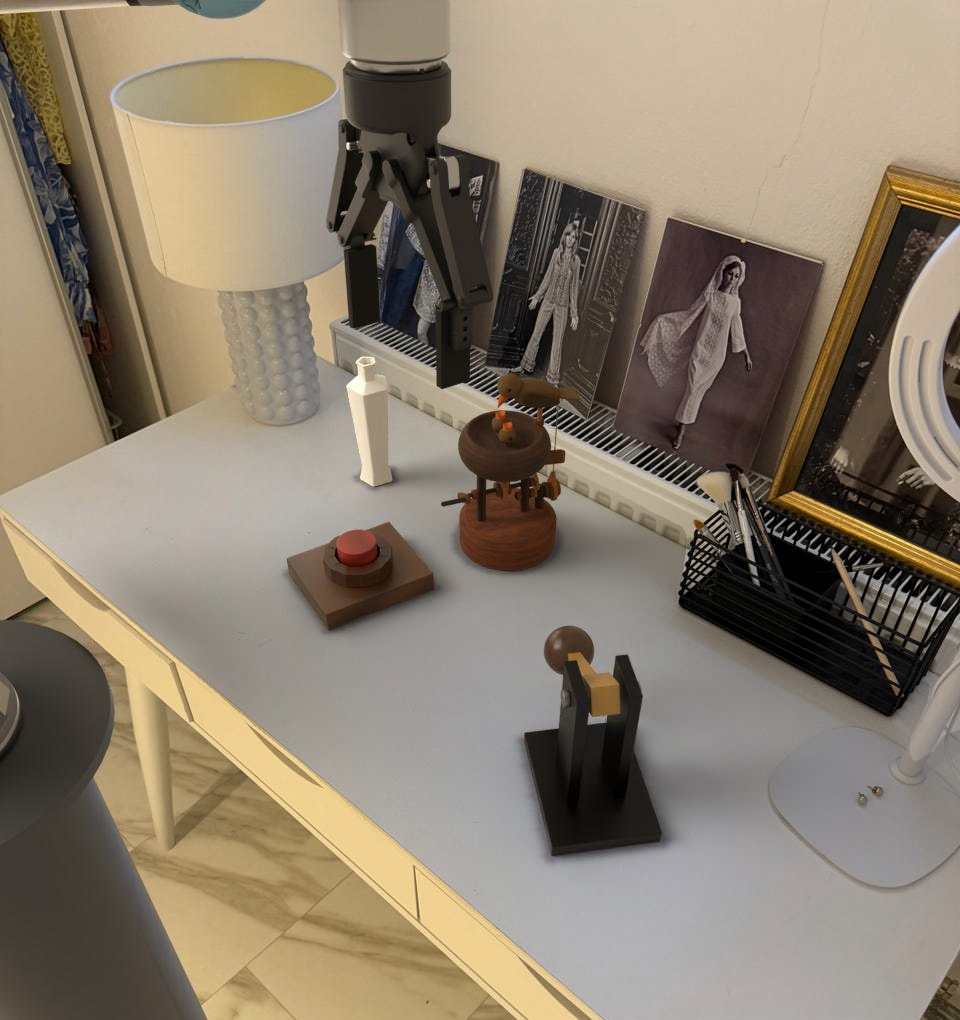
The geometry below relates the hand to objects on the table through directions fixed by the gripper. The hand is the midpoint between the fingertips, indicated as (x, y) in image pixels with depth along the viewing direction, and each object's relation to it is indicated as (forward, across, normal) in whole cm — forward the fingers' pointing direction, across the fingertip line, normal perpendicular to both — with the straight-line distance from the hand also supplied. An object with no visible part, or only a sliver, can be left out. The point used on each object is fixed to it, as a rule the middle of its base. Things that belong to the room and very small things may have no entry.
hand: (406, 352), depth 80 cm
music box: (+26, +3, -13) cm, 30 cm away
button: (+23, +6, +3) cm, 24 cm away
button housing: (+27, +6, +3) cm, 28 cm away
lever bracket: (+28, -28, +1) cm, 40 cm away
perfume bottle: (+26, +21, -9) cm, 35 cm away
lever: (+21, -25, -1) cm, 32 cm away
